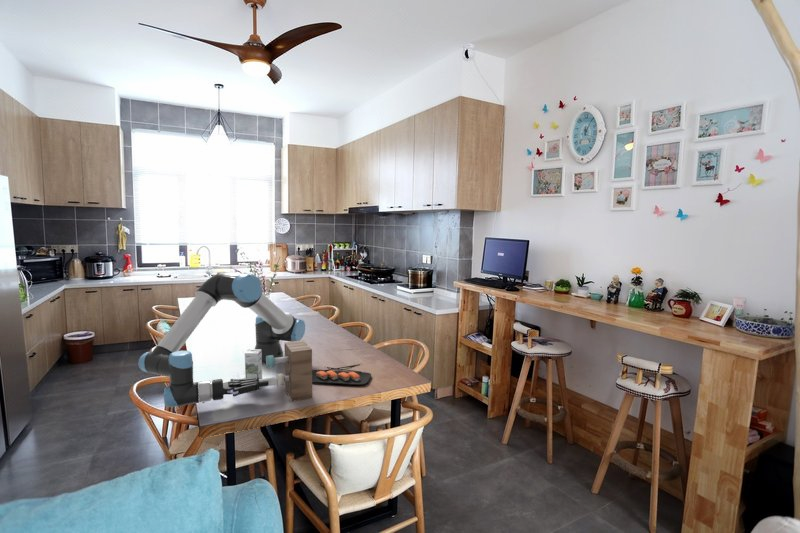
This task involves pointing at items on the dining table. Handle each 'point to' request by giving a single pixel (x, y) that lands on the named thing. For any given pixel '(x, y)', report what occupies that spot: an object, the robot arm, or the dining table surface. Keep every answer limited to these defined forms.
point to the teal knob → (275, 360)
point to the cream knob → (281, 379)
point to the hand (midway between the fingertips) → (276, 380)
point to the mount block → (298, 370)
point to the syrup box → (253, 363)
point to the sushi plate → (340, 376)
